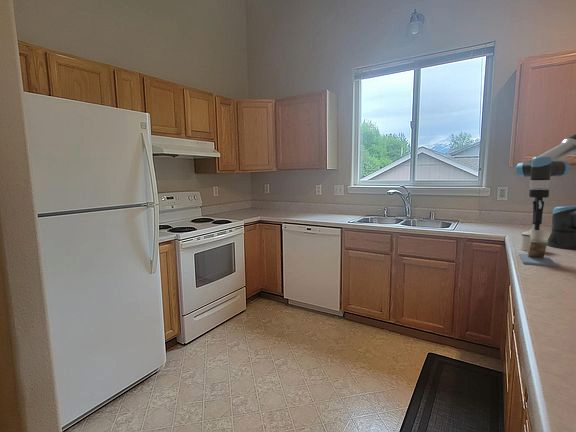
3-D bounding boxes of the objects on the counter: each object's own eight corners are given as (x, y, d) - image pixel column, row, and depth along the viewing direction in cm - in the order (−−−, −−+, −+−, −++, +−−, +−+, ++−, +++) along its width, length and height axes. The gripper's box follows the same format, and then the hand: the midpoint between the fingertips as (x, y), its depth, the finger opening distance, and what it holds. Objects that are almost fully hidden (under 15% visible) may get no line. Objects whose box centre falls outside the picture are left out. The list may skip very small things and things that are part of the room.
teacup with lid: (541, 252, 170) (543, 231, 168) (520, 250, 175) (521, 229, 174) (540, 248, 179) (542, 227, 178) (520, 246, 185) (522, 226, 183)
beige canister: (542, 248, 159) (546, 230, 151) (543, 258, 155) (548, 239, 147) (527, 247, 162) (530, 229, 154) (528, 256, 158) (531, 238, 150)
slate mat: (548, 257, 159) (548, 255, 159) (556, 266, 144) (556, 264, 144) (518, 255, 165) (519, 253, 165) (523, 263, 150) (523, 261, 150)
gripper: (551, 189, 147) (548, 240, 150) (546, 188, 158) (543, 235, 161) (531, 189, 151) (528, 239, 154) (527, 188, 162) (524, 234, 165)
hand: (535, 237), depth 157 cm, fingers closed
